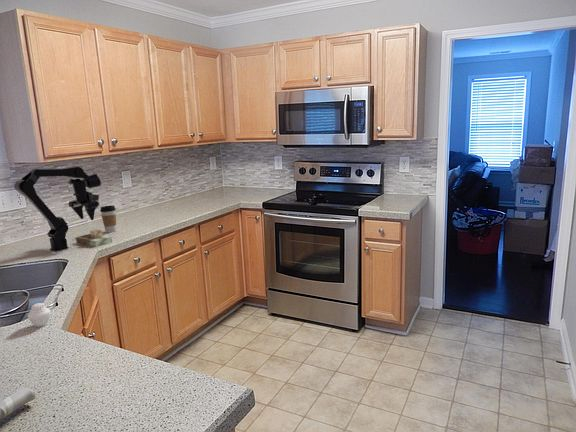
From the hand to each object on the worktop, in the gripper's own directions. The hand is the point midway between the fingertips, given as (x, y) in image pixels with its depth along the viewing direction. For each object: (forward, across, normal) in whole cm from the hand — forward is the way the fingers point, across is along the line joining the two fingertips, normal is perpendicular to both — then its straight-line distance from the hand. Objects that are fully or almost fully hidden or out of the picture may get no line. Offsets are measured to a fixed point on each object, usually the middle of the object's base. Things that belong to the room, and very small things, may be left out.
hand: (87, 219), depth 228 cm
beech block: (+9, -7, +1) cm, 11 cm away
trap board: (+12, -4, +2) cm, 13 cm away
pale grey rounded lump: (+8, -79, +68) cm, 104 cm away
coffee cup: (+14, +10, -18) cm, 25 cm away
